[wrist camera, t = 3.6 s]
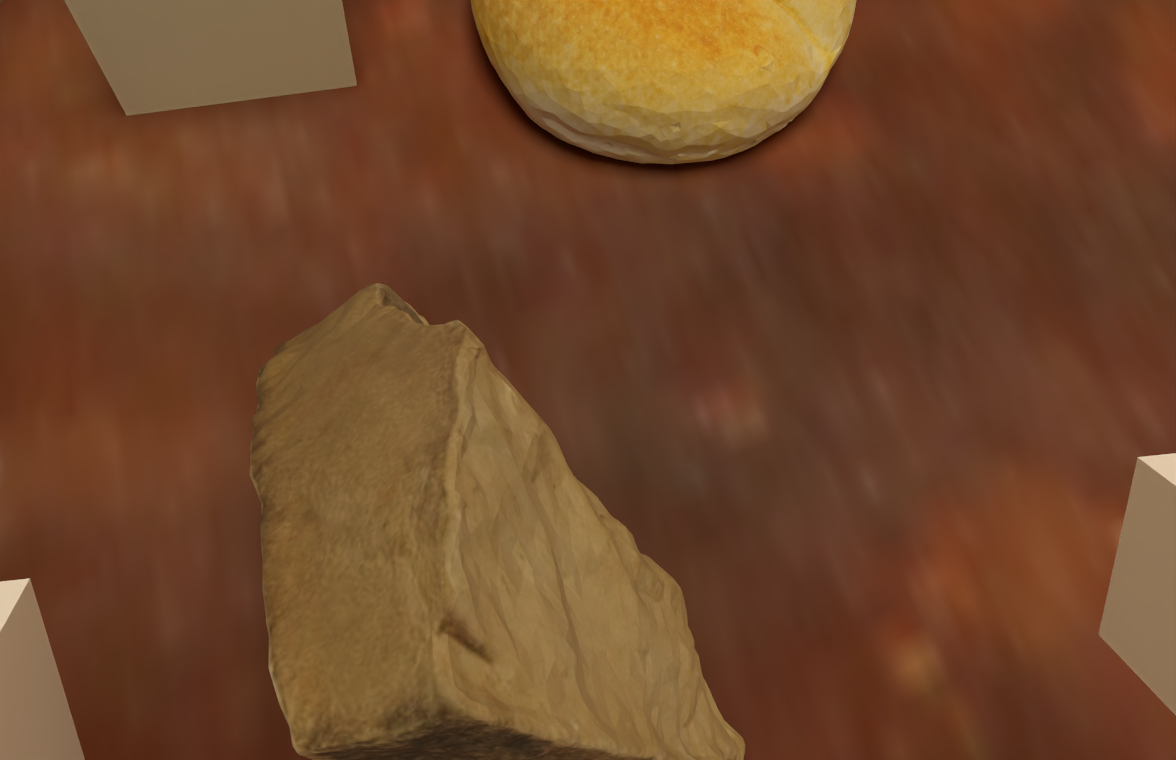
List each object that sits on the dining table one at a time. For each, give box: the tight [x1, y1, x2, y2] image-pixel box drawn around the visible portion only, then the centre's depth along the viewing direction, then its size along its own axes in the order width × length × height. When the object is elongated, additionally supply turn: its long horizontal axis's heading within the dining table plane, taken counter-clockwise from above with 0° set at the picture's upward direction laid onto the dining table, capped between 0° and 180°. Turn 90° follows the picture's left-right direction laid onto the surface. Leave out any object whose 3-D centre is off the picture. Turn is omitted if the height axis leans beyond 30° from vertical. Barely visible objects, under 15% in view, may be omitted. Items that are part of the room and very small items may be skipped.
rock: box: [250, 283, 745, 760], centre depth 17 cm, size 11×9×10 cm
